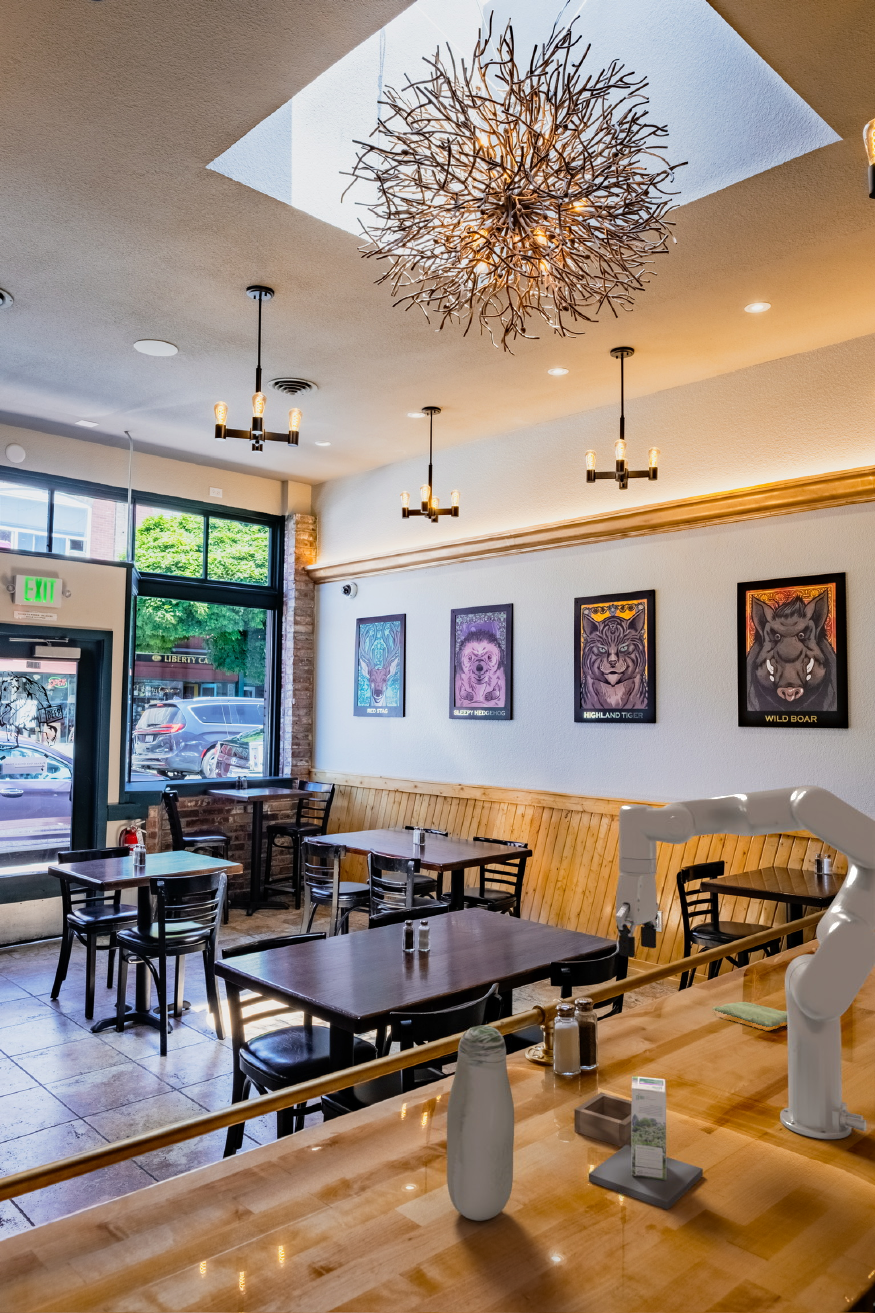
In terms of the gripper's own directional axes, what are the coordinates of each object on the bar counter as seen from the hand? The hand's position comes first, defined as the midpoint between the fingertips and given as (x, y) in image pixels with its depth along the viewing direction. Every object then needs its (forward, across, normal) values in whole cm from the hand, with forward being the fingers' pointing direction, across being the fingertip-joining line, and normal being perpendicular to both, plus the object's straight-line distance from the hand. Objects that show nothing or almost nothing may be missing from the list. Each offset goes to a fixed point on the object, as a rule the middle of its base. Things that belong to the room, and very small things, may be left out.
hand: (638, 951), depth 183 cm
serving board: (+30, +26, +14) cm, 42 cm away
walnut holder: (+30, +13, +1) cm, 33 cm away
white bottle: (+31, +53, -1) cm, 61 cm away
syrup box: (+29, +26, +14) cm, 42 cm away
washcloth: (+31, -70, -1) cm, 77 cm away
